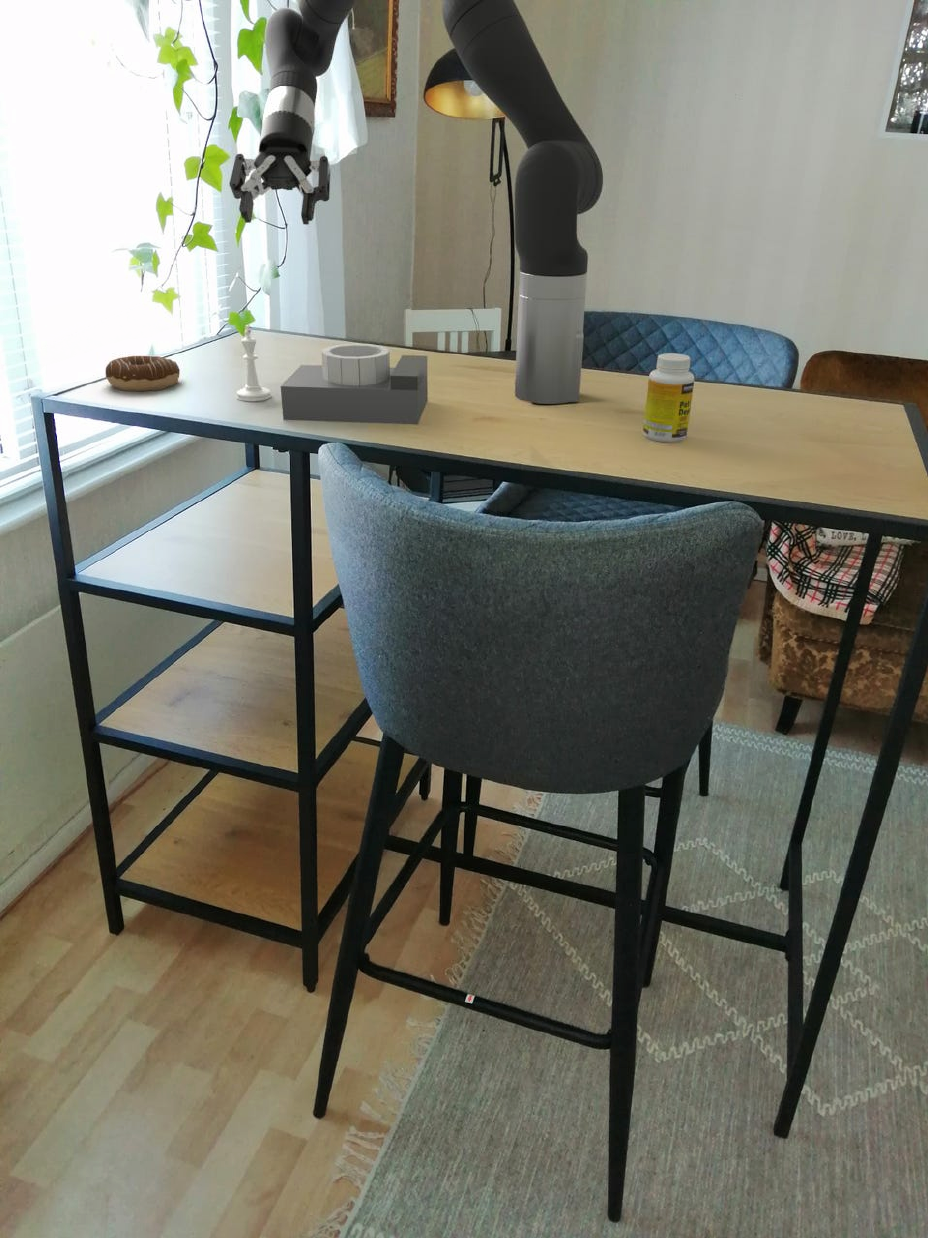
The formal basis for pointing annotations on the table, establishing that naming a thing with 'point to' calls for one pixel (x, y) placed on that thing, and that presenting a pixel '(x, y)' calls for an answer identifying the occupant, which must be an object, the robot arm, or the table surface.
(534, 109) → the robot arm
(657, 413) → the supplement bottle
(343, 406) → the camera body
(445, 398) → the table surface
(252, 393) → the chess piece
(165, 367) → the donut
